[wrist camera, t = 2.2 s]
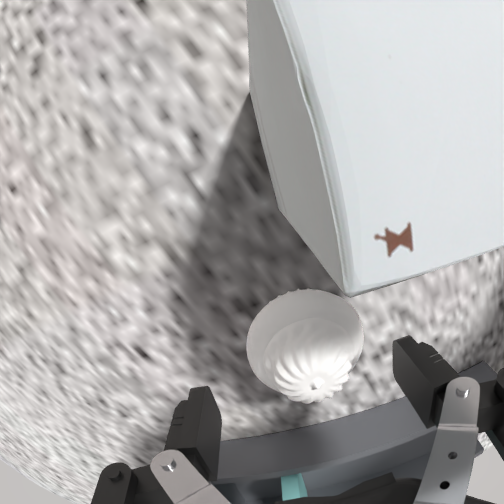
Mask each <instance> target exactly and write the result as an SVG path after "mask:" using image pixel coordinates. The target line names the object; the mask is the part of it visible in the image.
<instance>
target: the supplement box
mask: <svg viewBox="0 0 504 504" xmlns="http://www.w3.org/2000/svg"><path fill="white" fill-rule="evenodd" d="M247 22H248V48H249V72H250V79H249V87H250V95H251V99H252V104H253V108H254V112H255V117H256V121H257V125H258V129H259V133H260V138H261V142H262V146H263V150H264V154H265V158H266V161H267V165H268V169H269V173H270V177H271V181H272V185H273V189H274V192H275V196H276V200H277V204H278V209H279V211H281V213H282V214H283V215H284V216H285V218H286V219H287V220H288V221H289V223H290V224H291V225H292V226H293V228H294V229H295V230H296V232H297V233H298V234H299V235H300V237H301V238H302V239H303V241H304V242H305V243H306V244H307V246H308V247H309V248H310V250H311V251H312V252H313V253H314V255H315V256H316V258H317V259H318V260H319V262H320V263H321V264H322V266H323V267H324V268H325V270H326V271H327V272H328V274H329V275H330V276H331V278H332V279H333V280H334V282H335V283H336V284H337V285H338V287H339V288H340V289H341V291H342V292H343V293H344V294H345V296H348V297H350V298H351V297H354V296H357V295H361V294H364V293H367V292H370V291H374V290H377V289H380V288H383V287H386V286H390V285H393V284H396V283H399V282H402V281H405V280H408V279H411V278H414V277H417V276H420V275H423V274H426V273H429V272H432V271H435V270H438V269H441V268H444V267H447V266H450V265H453V264H456V263H459V262H462V261H465V260H468V259H471V258H473V257H476V256H479V255H482V254H485V253H488V252H491V251H494V250H496V249H499V248H501V247H504V0H247Z"/></svg>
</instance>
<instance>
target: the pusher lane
mask: <svg viewBox="0 0 504 504" xmlns="http://www.w3.org/2000/svg"><path fill="white" fill-rule="evenodd" d="M458 375H459V376H460V377H470V378H473V379H474V380H476V381H477V382H478V383H483V382H487V381H491V380H495V379H496V378H497V374H496V373H495V372H494V371H493V370H492V369H491V368H490V367H489V366H488V365H487V364H486V363H485V362H484V361H482V362H481V363H479V364H477V365H475V366H473V367H471V368H469V369H467V370H465V371H463V372H461V373H459V374H458ZM437 429H438V428H437V427H436V425H435V426H433V427H431V428H429V429H427V428H426V427H425V425H424V424H423V422H422V420H421V419H420V417H419V416H418V414H417V412H416V411H415V409H414V408H413V406H412V405H411V403H410V401H409V400H408V398H407V397H403V398H400V399H398V400H395V401H392V402H389V403H387V404H384V405H381V406H378V407H375V408H372V409H369V410H366V411H363V412H359V413H356V414H353V415H349V416H346V417H342V418H339V419H335V420H331V421H328V422H324V423H320V424H316V425H312V426H307V427H303V428H299V429H294V430H289V431H284V432H279V433H274V434H268V435H262V436H256V437H250V438H243V439H236V440H228V441H220V451H219V464H218V476H217V481H210V482H208V483H209V484H210V483H211V484H212V485H213V486H214V487H215V488H216V489H217V490H218V491H219V492H220V493H221V494H222V495H223V496H224V497H225V498H226V499H227V500H228V501H229V502H230V503H231V504H274V502H278V501H283V498H282V486H281V477H283V476H288V475H294V474H299V473H301V474H302V477H303V481H304V484H305V487H306V490H307V496H308V497H324V496H336V495H339V494H341V493H343V492H345V491H347V490H349V489H351V488H353V487H355V486H356V485H358V484H360V483H362V482H364V481H367V480H370V479H373V478H376V477H379V476H382V475H384V474H387V473H390V472H392V473H393V476H394V478H418V479H423V476H424V473H425V470H426V467H427V464H428V461H429V458H430V454H431V451H432V447H433V444H434V440H435V437H436V433H437ZM483 450H484V448H483V447H482V445H481V444H480V442H479V441H478V440H477V444H476V450H475V456H474V458H475V457H477V456H479V455H480V454H482V453H483Z"/></svg>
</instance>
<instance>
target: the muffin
mask: <svg viewBox="0 0 504 504" xmlns="http://www.w3.org/2000/svg"><path fill="white" fill-rule="evenodd" d="M363 342H364V333H363V327H362V323H361V320H360V317H359V315H358V313H357V311H356V310H355V309H354V307H353V306H352V305H351V304H350V303H349V302H348V301H346V300H345V299H343V298H341V297H340V296H337V295H335V294H332V293H329V292H326V291H321V290H319V289H318V290H311V289H310V288H308V289H306V290H300V289H297V290H296V291H293V292H290V291H288V292H287V293H286V294H283V295H278V297H277V298H276V299H274V300H272V301H270V302H269V303H268V304H267V305H266V306H264V308H263V309H262V310H261V311H260V312H259V313H258V314H257V316H256V317H255V319H254V320H253V322H252V324H251V326H250V328H249V331H248V335H247V342H246V350H247V356H248V360H249V363H250V366H251V368H252V370H253V372H254V374H255V375H256V376H257V377H258V379H259V380H260V381H261V382H263V383H264V384H265V385H267V386H268V387H270V388H272V389H274V390H276V391H278V392H281V393H282V394H284V395H286V396H287V397H288V398H289V399H290V400H292V401H296V402H299V401H301V402H302V403H305V404H309V403H311V402H313V401H315V402H317V403H320V402H321V401H322V400H323V399H324V398H332V397H333V394H334V392H337V391H341V390H342V384H343V383H345V382H346V381H348V380H349V375H348V374H349V373H350V372H351V371H352V369H353V368H354V366H355V364H356V363H357V361H358V359H359V357H360V354H361V351H362V348H363Z"/></svg>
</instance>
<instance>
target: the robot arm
mask: <svg viewBox="0 0 504 504" xmlns="http://www.w3.org/2000/svg"><path fill="white" fill-rule="evenodd" d="M393 373H394V377H395V379H396V381H397V383H398V384H399V386H400V388H401V389H402V391H403V392H404V394H405V395H406V397H407V398H408V400H409V401H410V403H411V405H412V406H413V408H414V409H415V411H416V412H417V414H418V416H419V417H420V419H421V420H422V422H423V424H424V425H425V427H426V428H427V429H429V428H431V427H433V426H435V425H436V427H437V428H438V429H437V433H436V437H435V440H434V444H433V447H432V451H431V454H430V458H429V461H428V464H427V467H426V470H425V473H424V476H423V479H418V478H394V476H393V473H392V472H390V473H387V474H384V475H382V476H379V477H376V478H373V479H370V480H367V481H364V482H362V483H360V484H358V485H356V486H355V487H353V488H351V489H349V490H347V491H345V492H343V493H341V494H339V495H336V496H324V497H301V498H296V499H290V500H284V501H278V502H274V504H495V503H491V502H488V501H484V500H481V499H477V498H474V497H471V496H468V495H466V492H467V489H468V485H469V480H470V476H471V471H472V466H473V461H474V456H475V450H476V444H477V437H478V433H482V432H486V434H487V436H488V437H489V439H490V440H491V442H492V443H493V445H494V446H495V448H496V449H497V451H498V453H499V454H500V456H501V457H502V459H503V461H504V368H502V369H501V370H500V371H499V372H498V374H497V378H496V379H495V380H491V381H487V382H483V383H478V382H477V381H476V380H474V379H473V378H470V377H460V376H459V375H458V374H457V372H456V371H455V370H454V369H453V368H452V367H451V366H450V365H449V364H448V363H447V362H446V361H445V360H443V357H442V356H441V355H440V354H438V352H437V351H436V350H435V349H434V348H433V347H432V346H430V345H428V344H426V343H423V342H421V343H419V344H418V343H417V342H416V341H415V340H414V339H413V338H412V337H411V336H410V335H408V336H406V337H403V338H400V339H397V340H394V341H393ZM221 427H222V419H221V414H220V411H219V408H218V406H217V404H216V401H215V399H214V397H213V394H212V392H211V390H210V388H209V387H208V386H204V387H197V388H191V389H190V392H189V397H188V400H184V401H181V402H180V403H179V405H178V406H177V407H176V408H175V411H174V415H173V419H172V422H171V426H170V430H169V433H168V437H167V441H166V445H165V449H164V451H163V452H160V453H159V454H157V455H156V456H155V457H154V458H153V459H152V461H151V464H150V465H147V466H144V467H140V468H136V469H130V467H129V466H128V465H126V464H124V463H113V464H110V465H108V466H107V467H106V468H104V470H103V471H102V472H101V474H100V477H99V480H98V483H97V486H96V489H95V493H94V496H93V499H92V502H91V504H231V503H230V502H229V501H228V500H227V499H226V498H225V497H224V496H223V495H222V494H221V493H220V492H219V491H218V490H217V489H216V488H215V487H214V486H213V485H212V484H211V483H210V484H209V483H208V482H210V481H217V476H218V464H219V451H220V439H221Z"/></svg>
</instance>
